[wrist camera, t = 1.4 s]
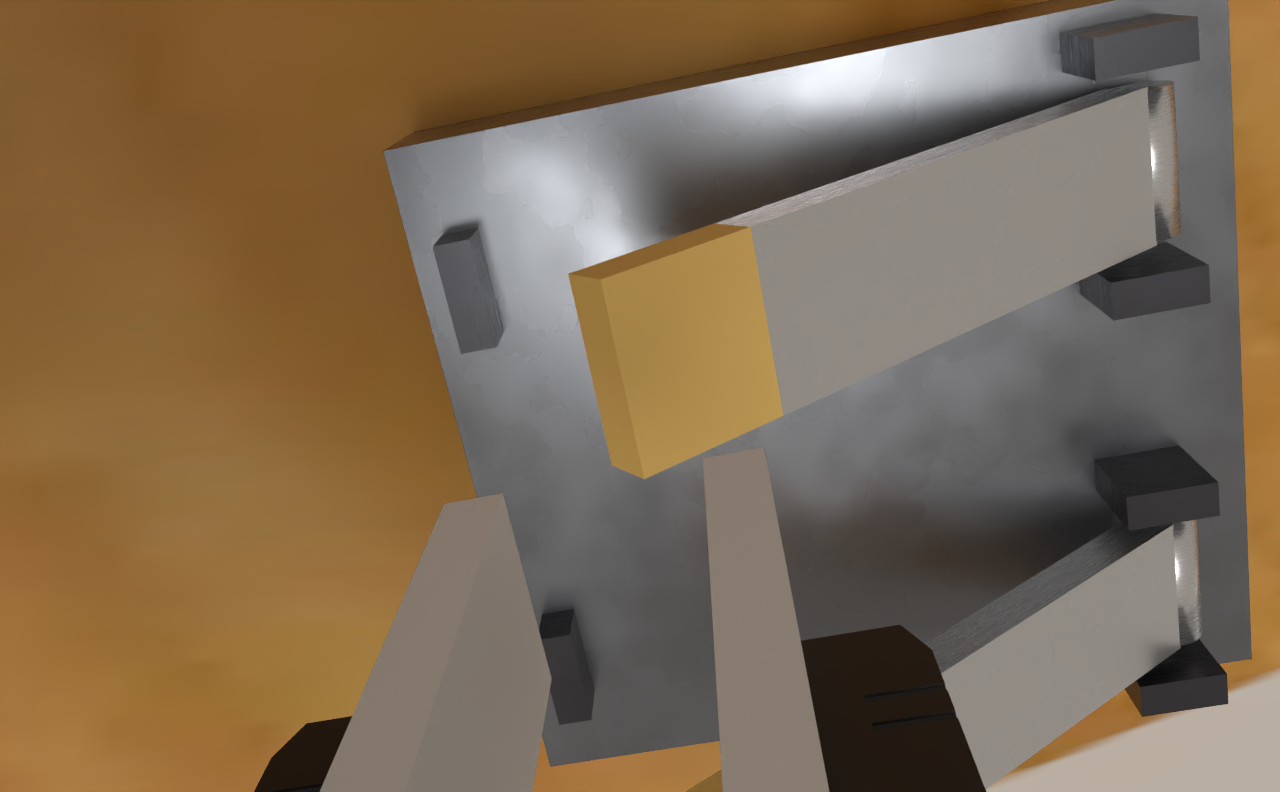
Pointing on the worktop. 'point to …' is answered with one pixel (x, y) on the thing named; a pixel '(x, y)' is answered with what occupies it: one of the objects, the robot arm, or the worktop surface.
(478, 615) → the robot arm
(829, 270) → the strap
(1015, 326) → the clamp block
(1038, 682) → the strap
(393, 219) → the worktop surface
